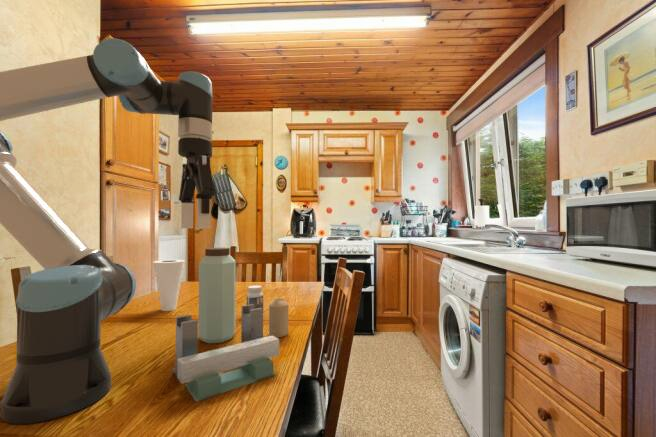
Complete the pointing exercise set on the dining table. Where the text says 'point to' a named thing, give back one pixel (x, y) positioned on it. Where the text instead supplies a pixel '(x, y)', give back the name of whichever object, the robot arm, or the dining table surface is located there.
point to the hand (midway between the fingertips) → (194, 228)
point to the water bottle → (217, 295)
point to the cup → (168, 282)
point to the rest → (230, 379)
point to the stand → (189, 331)
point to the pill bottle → (255, 296)
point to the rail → (226, 358)
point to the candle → (278, 318)
